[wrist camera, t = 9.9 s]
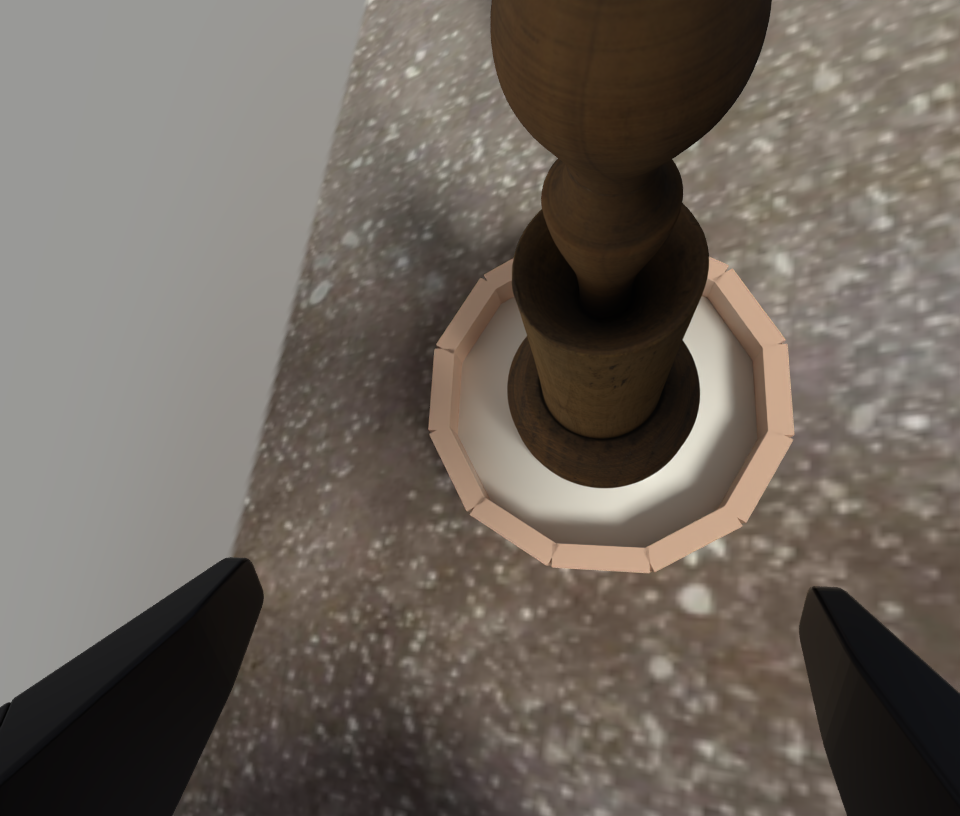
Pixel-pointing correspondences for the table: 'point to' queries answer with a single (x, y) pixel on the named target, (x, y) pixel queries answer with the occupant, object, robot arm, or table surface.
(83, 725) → the robot arm
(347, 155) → the table surface
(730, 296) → the bowl
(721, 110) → the mortar and pestle
